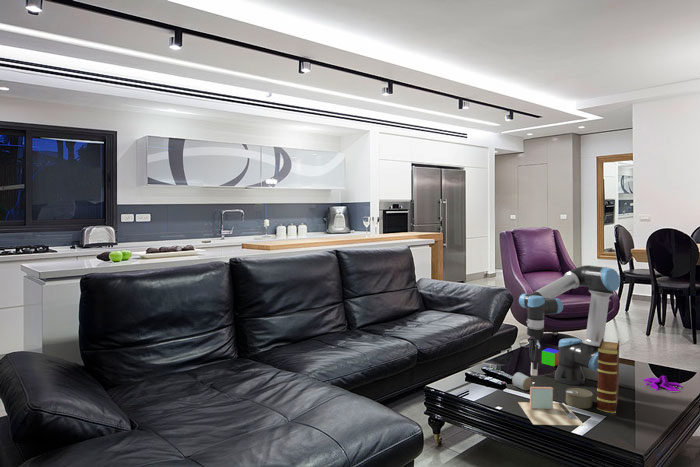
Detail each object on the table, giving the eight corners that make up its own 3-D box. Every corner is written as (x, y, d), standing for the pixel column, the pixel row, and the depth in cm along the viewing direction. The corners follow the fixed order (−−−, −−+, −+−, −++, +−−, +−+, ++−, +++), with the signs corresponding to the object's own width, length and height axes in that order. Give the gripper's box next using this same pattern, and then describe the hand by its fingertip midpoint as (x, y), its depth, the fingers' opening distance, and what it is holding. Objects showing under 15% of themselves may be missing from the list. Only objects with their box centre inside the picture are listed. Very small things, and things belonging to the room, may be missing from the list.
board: (563, 405, 233) (563, 403, 233) (584, 428, 210) (584, 425, 210) (517, 404, 235) (517, 402, 235) (533, 427, 211) (533, 424, 211)
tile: (551, 407, 228) (551, 387, 227) (553, 409, 226) (553, 388, 225) (529, 407, 229) (530, 386, 228) (531, 409, 227) (531, 388, 226)
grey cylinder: (523, 392, 250) (524, 377, 250) (511, 387, 258) (512, 373, 257) (538, 389, 255) (538, 374, 255) (525, 384, 262) (526, 370, 262)
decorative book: (615, 416, 222) (617, 351, 220) (596, 412, 226) (597, 349, 224) (618, 399, 241) (619, 340, 239) (600, 396, 245) (601, 337, 243)
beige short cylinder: (596, 412, 226) (596, 397, 226) (568, 410, 228) (569, 396, 228) (588, 401, 238) (588, 388, 238) (562, 400, 240) (562, 386, 240)
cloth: (644, 377, 272) (644, 367, 272) (684, 385, 261) (684, 373, 260) (637, 389, 255) (638, 378, 254) (680, 398, 243) (680, 386, 243)
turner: (564, 404, 231) (564, 403, 231) (577, 419, 216) (577, 417, 215) (556, 404, 232) (556, 402, 232) (569, 419, 216) (569, 417, 216)
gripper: (523, 324, 242) (522, 370, 243) (531, 330, 229) (530, 379, 230) (538, 324, 242) (537, 370, 243) (547, 331, 229) (546, 380, 230)
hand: (534, 375), depth 237 cm, fingers closed
